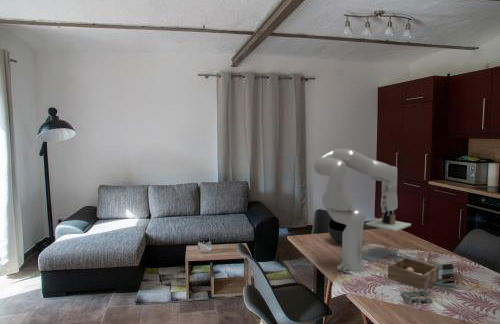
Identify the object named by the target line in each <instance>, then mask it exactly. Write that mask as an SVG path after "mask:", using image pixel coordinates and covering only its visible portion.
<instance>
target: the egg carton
mask: <svg viewBox="0 0 500 324" xmlns="http://www.w3.org/2000/svg"><path fill="white" fill-rule="evenodd" d="M400 293H401V297H403V299H404V300H403V302H404V303H405V304H408V306H409V305H410V306H411V305H412V304H413V302H414V304H415V305H417V306H421V304H419V303H421V302H424V303H426V304H430V303H431V302H432V301H433V298H432V297H431V295H429V293H428V291H427V288H426V289H418V288H417V290H416V289H415V290H406V291H404V290H400ZM420 296H423V297H425V298H422V297H420ZM419 297H420V298H419ZM415 302H417V303H415Z"/></svg>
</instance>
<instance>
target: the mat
mask: <svg viewBox="0 0 500 324" xmlns="http://www.w3.org/2000/svg"><path fill="white" fill-rule="evenodd" d="M397 254H400V255H403V256H405V257H406V258H408V259H412V260H415V261H417V258H416V257H412V256H410V255H406V254H402V253H398V252H395V251H391V250H387V249H383V248H381V247H377V248H375V249H373V250H370V251H367V252H366V253H364V254H363V253H362V260H364V261H368V262H371V263H374V262H376V261H378V260H380V259H383V258H385V257H387V256H389V255H392V256H396V255H397ZM396 257H397V256H396Z"/></svg>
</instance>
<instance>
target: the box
mask: <svg viewBox="0 0 500 324" xmlns="http://www.w3.org/2000/svg"><path fill="white" fill-rule="evenodd" d="M408 267H411V268H413V269H414V272H415V273H414V272H411V271H407V270H404V269H407V268H408ZM417 273H419V274H417ZM420 274H422V275H420ZM439 277H440V266H436V265H432V264H429V263H427V262H422V261H419V260H412V259H408V258H405V257H404V258H402V257H401V258H400V259H398V260H396V261H395V262H392V263H391V264H390V263H389V265H388V266H387V279H389V280H392V281H395V282H398V283H401V284H404V285H408V286H410V287H412V288H416V289H417V290H418V289H426V290H427V289H428V288H429V287H431V286H432V285H434V284H435V283H437V282H438V281H439Z"/></svg>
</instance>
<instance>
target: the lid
mask: <svg viewBox="0 0 500 324" xmlns="http://www.w3.org/2000/svg"><path fill="white" fill-rule="evenodd" d="M389 216H390V223H389V224H388V223H384V222H383V220H384V215H383V213H382V214H381V218H380V217H379V218H377V219H373V220H371V221H368V222H365V226H370V227H374V228H379V229H382V230H387V231H393V232H398V231H401V230H403V229H406V228H408V227H411V226H412V223H410V222H403V221H399V220H396V214H394V215H393V214H389Z"/></svg>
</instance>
